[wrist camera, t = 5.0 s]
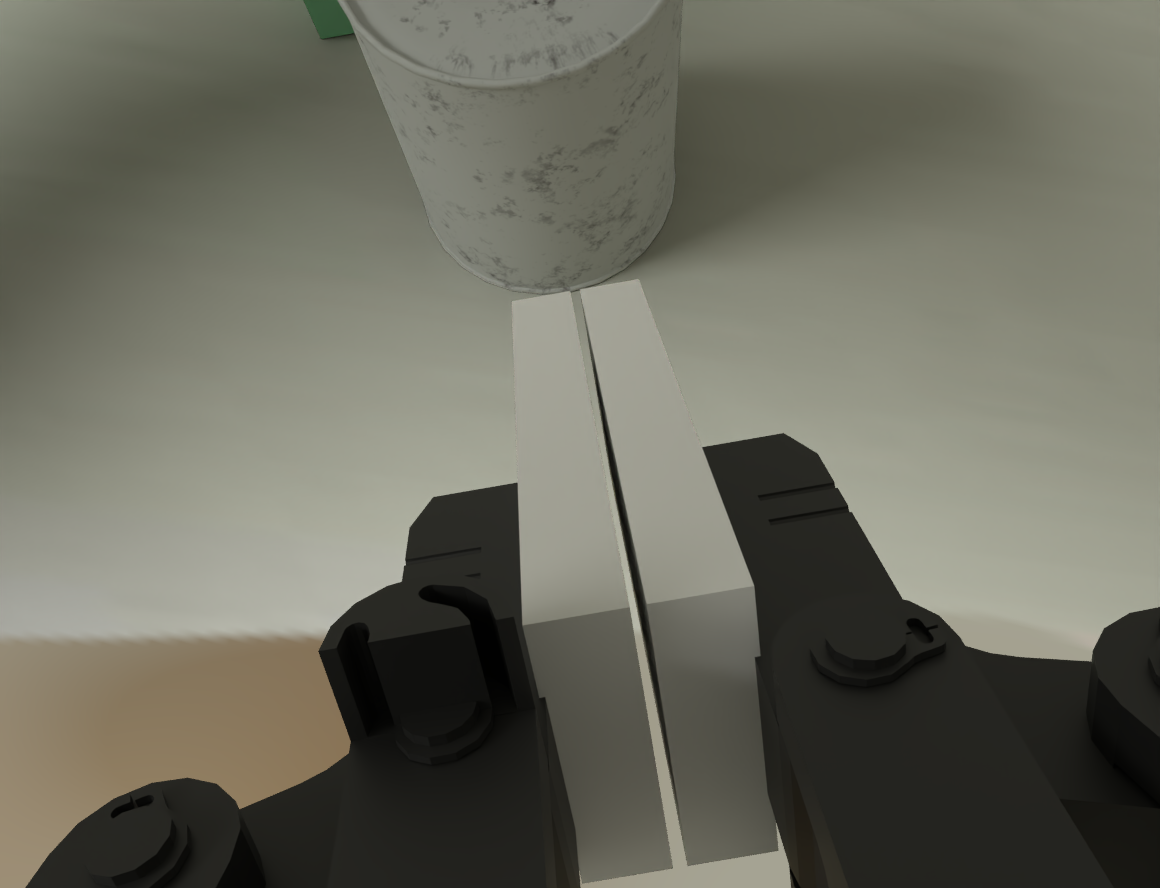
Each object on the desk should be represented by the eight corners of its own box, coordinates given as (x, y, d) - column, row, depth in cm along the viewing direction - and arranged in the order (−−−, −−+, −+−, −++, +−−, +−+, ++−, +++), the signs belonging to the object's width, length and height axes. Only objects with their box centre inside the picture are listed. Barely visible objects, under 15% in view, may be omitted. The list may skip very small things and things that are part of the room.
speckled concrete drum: (701, 95, 39) (727, -186, 27) (640, 320, 36) (639, 118, 24) (464, 50, 40) (390, -239, 28) (389, 264, 37) (274, 46, 26)
